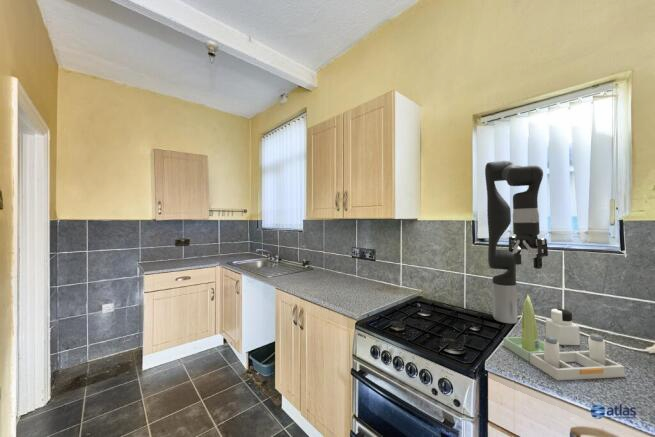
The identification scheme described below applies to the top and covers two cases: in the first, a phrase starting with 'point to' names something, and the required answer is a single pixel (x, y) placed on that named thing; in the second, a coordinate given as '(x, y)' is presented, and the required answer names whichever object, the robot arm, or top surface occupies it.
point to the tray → (516, 347)
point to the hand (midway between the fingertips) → (527, 266)
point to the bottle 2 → (597, 349)
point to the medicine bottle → (562, 327)
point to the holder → (571, 373)
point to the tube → (529, 328)
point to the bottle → (551, 351)
